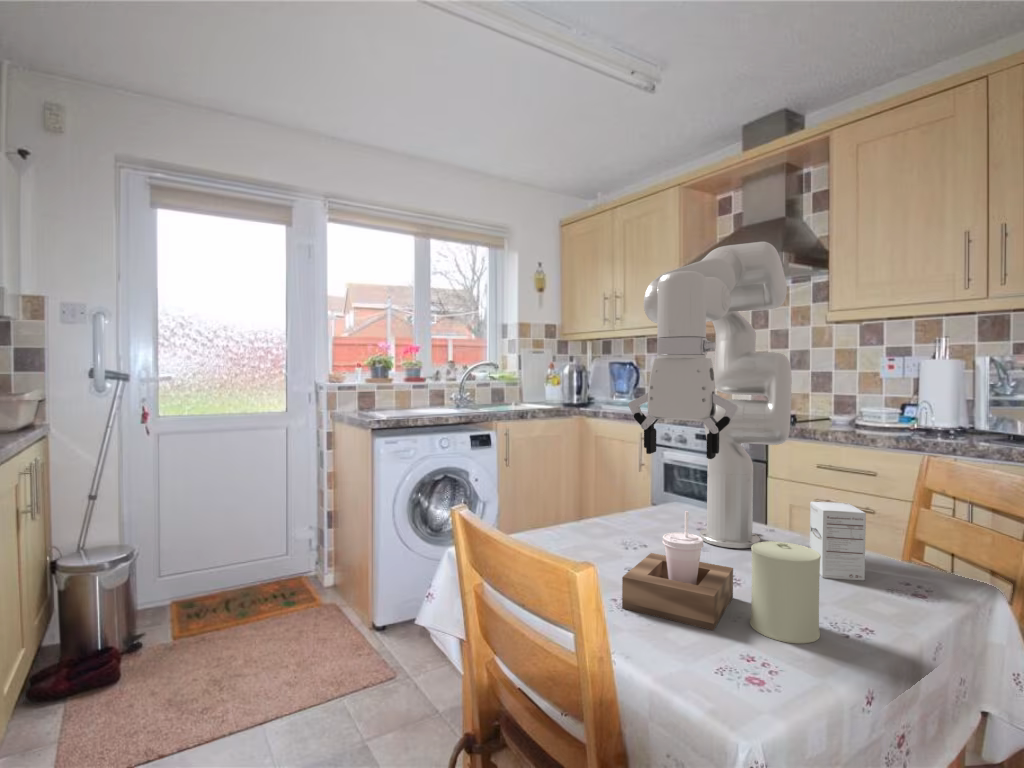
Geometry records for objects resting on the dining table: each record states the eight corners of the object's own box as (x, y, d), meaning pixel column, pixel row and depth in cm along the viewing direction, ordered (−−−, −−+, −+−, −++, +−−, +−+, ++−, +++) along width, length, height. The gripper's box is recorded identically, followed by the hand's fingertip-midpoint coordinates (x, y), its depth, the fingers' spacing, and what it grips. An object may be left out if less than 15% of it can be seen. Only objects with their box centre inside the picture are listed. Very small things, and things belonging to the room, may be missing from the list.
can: (809, 618, 84) (810, 540, 84) (829, 647, 75) (830, 560, 75) (744, 612, 86) (745, 536, 86) (756, 639, 77) (757, 555, 77)
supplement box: (808, 564, 108) (809, 500, 108) (849, 567, 106) (850, 502, 106) (821, 578, 101) (822, 509, 100) (866, 581, 99) (867, 511, 99)
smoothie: (706, 606, 86) (707, 517, 86) (664, 603, 87) (664, 515, 87) (699, 590, 92) (700, 507, 92) (659, 587, 93) (660, 505, 93)
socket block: (650, 580, 99) (651, 552, 99) (732, 597, 92) (733, 567, 92) (622, 608, 87) (622, 576, 87) (713, 630, 80) (714, 596, 80)
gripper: (742, 349, 87) (741, 457, 88) (637, 351, 97) (637, 448, 97) (733, 347, 81) (732, 463, 81) (621, 350, 90) (621, 454, 91)
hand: (680, 455), depth 89 cm, fingers open, 9 cm apart
